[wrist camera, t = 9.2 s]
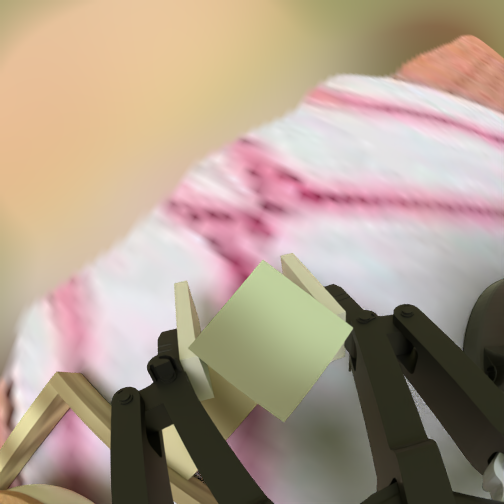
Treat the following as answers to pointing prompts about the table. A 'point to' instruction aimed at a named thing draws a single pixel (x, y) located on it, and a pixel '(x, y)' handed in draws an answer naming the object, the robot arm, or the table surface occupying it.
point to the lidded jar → (41, 495)
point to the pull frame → (211, 376)
